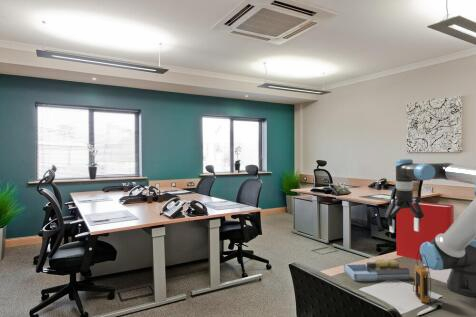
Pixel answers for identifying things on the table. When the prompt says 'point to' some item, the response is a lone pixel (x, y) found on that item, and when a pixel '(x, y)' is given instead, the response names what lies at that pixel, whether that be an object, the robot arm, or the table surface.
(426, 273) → the multimeter
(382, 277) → the slotted deck
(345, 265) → the tray
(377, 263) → the brass block
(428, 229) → the book
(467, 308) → the table surface
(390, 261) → the brass block
